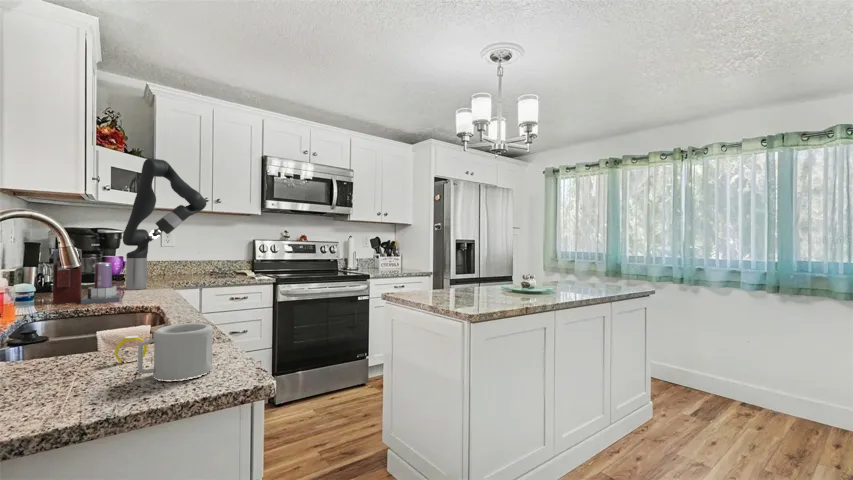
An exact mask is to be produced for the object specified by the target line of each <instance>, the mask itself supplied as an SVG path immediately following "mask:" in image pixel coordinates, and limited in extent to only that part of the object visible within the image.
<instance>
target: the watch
mask: <svg viewBox="0 0 853 480" xmlns="http://www.w3.org/2000/svg"><path fill="white" fill-rule="evenodd" d="M130 341H131V342H133V341H140V343H142V342H143V341H145V340H144V339H142V338H141V337H140V335H128V336H125V337H124V339H122V340H121V341H119V342H118V343H117V345H116V347H115V349H114V356H115V358H116V360H117V361H118V362H120V361H124V360H123V359H121V358H120V356H119V349H120V348H121V346H122V345H123V344H125V343H126V342H130ZM147 352H148V344H145V345H143V358H144V357H145V356H146V354H147Z"/></svg>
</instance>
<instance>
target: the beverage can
mask: <svg viewBox="0 0 853 480" xmlns="http://www.w3.org/2000/svg"><path fill="white" fill-rule="evenodd" d="M112 276H113V264H112V262H96V263H95V265H94V287H95V288H110V287H112V286H113V284H112V282H113V277H112Z"/></svg>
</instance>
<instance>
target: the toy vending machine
mask: <svg viewBox="0 0 853 480" xmlns="http://www.w3.org/2000/svg"><path fill="white" fill-rule="evenodd" d="M70 239H71V241H72V243H73V245H74V246H75V241H74V240H73V239H72V238H70ZM58 249H59V248H56V249H54V250H53V271H52V272H53V276H52V277H53V278H52V280H53V282H52V283H53V284H52V286H53V287H52V305H53V304H56V305H67V304H66V303H69V304H81V299H82V266H81V267H80V268H77V269H62V268H61V266H60V260H59V253H58ZM76 249H77V251H78V253H79V256H80V259H81V263H82V257H83V255H82V252H83V251H82V249H80V248H76Z"/></svg>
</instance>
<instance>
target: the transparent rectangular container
mask: <svg viewBox="0 0 853 480" xmlns="http://www.w3.org/2000/svg"><path fill="white" fill-rule="evenodd" d="M117 287H118V286H117V285H112V287H110V288H95V286H91V287H87V294H85V295H84V296H82V297H81V303H80V305H91V304H92V305H93V304H94V303H95V304H103V303H104V304H108V303H109V302H111V303H120V301H121V298H122V292H117V289H118V288H117ZM95 304H94V305H95Z"/></svg>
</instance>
